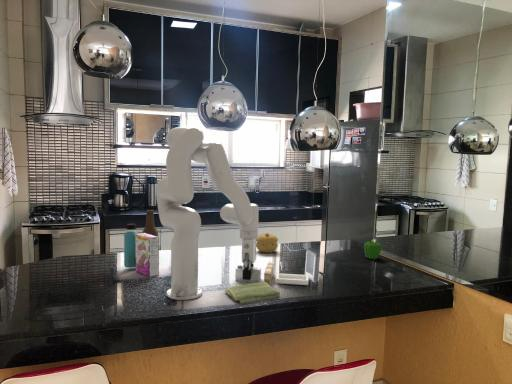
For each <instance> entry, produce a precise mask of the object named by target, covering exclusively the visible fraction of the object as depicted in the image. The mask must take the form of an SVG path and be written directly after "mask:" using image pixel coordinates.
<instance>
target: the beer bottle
mask: <svg viewBox="0 0 512 384" xmlns="http://www.w3.org/2000/svg"><path fill="white" fill-rule="evenodd" d="M145 213H146V215H145V226H144V228H143V229H142V232H141V233H147V234H150V235H153V236H157V237H159V232H158V229H157V228H156V227H155V215H154V214H155V211H154V210H153V209H147V210H146V211H145Z"/></svg>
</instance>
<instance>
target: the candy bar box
mask: <svg viewBox="0 0 512 384" xmlns="http://www.w3.org/2000/svg"><path fill="white" fill-rule="evenodd" d="M135 251H136V255H135V256H136V267H135V272H136V273H137V274H138V273H139V274H140V275H143V276H147V277H148V278H153V277H156V276H159V275H160V236H158V237H157V236H153V235H150V234H147V233H142V232H141V233H139V234H135Z"/></svg>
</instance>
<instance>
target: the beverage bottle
mask: <svg viewBox="0 0 512 384" xmlns="http://www.w3.org/2000/svg"><path fill="white" fill-rule="evenodd" d="M125 228H126V230H129V231H126V232H125V233H124V234H123V245H124V247H123V252H124V253H123V265H124V267H125V268H128V269H129V268H131V269H132V268H136V256H135V255H136V251H135V234H140V233H139V232H138V231H136V230H137V224H136V223H127V224H126V227H125Z"/></svg>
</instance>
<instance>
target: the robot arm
mask: <svg viewBox="0 0 512 384" xmlns="http://www.w3.org/2000/svg"><path fill="white" fill-rule="evenodd" d="M165 140H166V144H167V146H168V147H169V150H168V151H167V155H166V158H165V169H166V176H163V177H162V178H161V179H160V180H159V181H158V183H157V185H156V188H155V189H156V190H155V195H156V202H157V211H158V216H159V221H160V223H161V225H162V227H163V228H164V229H167V230H169V231H171V232H174V233H173V236H172V240H171V244H170V245H171V247H170V253H171V254H170V255H171V256H170V257H171V258H170V262H171V263H170V265H171V266H170V268H171V269H170V273H171V274H170V278H171V279H170V288H169V289H168V290H166V297H167V298H168V299H169V298H170V299H172V300H176V301H186V300H187V301H189V300H194V299H197V298H200V297H201V296H202V295H203V289H202V288H200V287H199V238H200V231H201V227H202V219H201V216H200V214H199V212H198V211H197V210H195V209H194V208H191V207H188V206H182V205H186V204H188V203H190V202H191V201H192V200H193V198H194V194H195V190H194V181H193V173H192V161H193V162H195V163H199V164H204V165H205V167H206V171H207V173H208V176H209V180H210V182H211V185H212V186H213V188H215V189H216V190H217V191H219V192H221V194H223V195H224V196H225V197H227V199H228V200H229V201H230V202H231V203H227V204H225V205H224V206H222V207H221V209H220V211H219V215H220V219H222V220H223V222H226V223H229V224H234V225H239V239H242V241H241V263H242V266H243V280H250V279H251V270H250V267H255V266H254V265H255V263H256V260H257V247H256V243H257V241H256V239H257V238H258V236H259V212H260V211H259V205H258V204H257V203H251V201H250V198H249V196H248V194H247V192H246V191H245V189H244V188H243V187H242V186H241V184H240V183H239V182H238V181H237V180H236V179H235V177H234V175H233V172H232V169H231V167H230V166H231V165H230V162H229V160H228V157H227V154H226V151H225V148H224V146H223V144H222V143H221V142H219V141H216V140H204V133H203V130H201V128H200V127H197V126H193V125H190V126H189V125H187V126H177V127H173V128H171V129H170V130H169V131H168V132H167V134H166V137H165Z"/></svg>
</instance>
